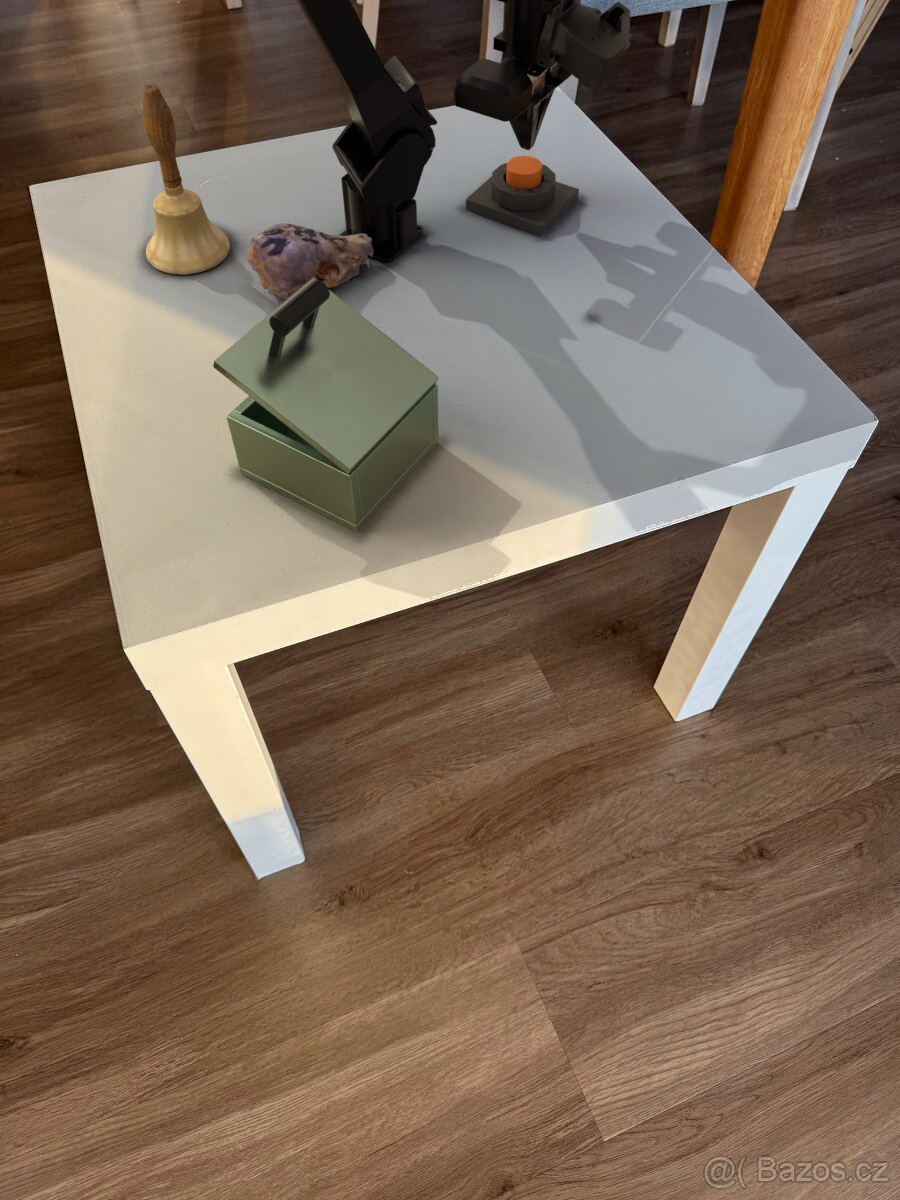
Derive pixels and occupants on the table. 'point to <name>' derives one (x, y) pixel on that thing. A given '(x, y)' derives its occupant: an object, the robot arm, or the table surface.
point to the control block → (522, 201)
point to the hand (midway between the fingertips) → (526, 147)
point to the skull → (305, 257)
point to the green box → (317, 480)
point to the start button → (524, 172)
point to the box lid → (327, 374)
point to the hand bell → (177, 203)
